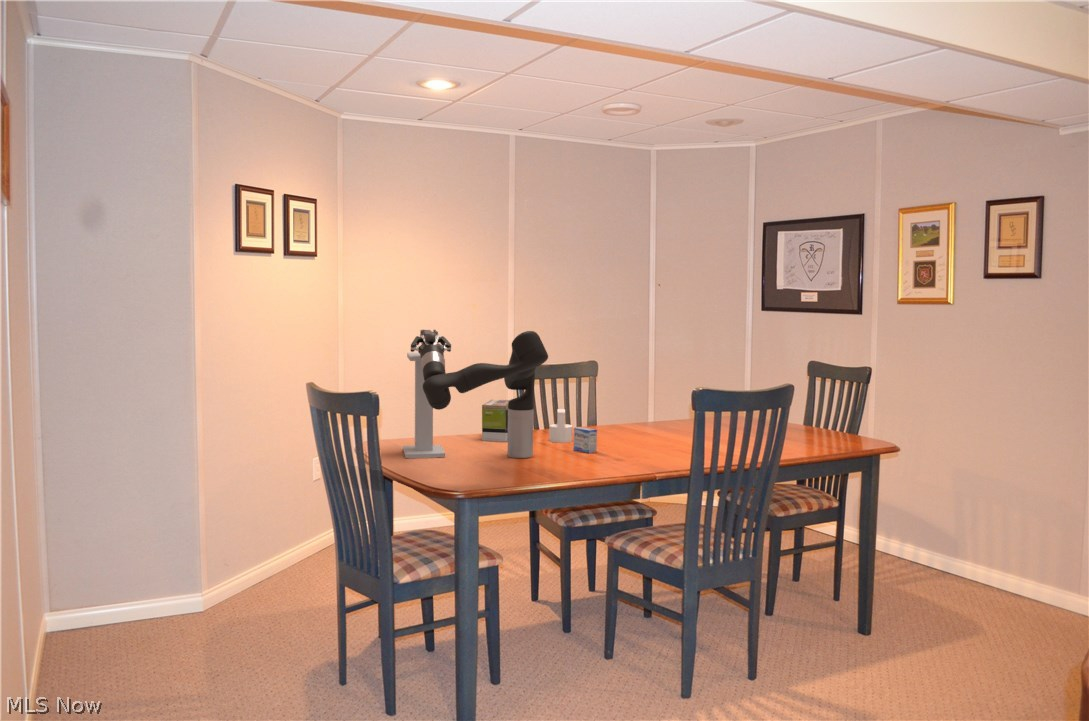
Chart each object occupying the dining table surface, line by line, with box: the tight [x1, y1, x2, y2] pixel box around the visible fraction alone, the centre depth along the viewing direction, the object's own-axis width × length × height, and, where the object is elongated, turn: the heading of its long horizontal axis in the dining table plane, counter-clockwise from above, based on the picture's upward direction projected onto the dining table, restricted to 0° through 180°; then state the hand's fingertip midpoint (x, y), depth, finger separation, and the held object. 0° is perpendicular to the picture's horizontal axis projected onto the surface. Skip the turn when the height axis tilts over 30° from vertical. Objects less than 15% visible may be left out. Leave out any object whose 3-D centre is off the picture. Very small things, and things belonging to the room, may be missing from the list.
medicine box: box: [573, 426, 598, 454], centre depth 324 cm, size 8×4×9 cm, turn 47°
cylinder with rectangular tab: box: [548, 408, 573, 444], centre depth 344 cm, size 9×9×12 cm
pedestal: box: [402, 352, 446, 459], centre depth 313 cm, size 16×14×36 cm
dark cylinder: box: [419, 329, 436, 342], centre depth 296 cm, size 27×3×2 cm, turn 13°
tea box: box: [481, 399, 511, 443], centre depth 347 cm, size 15×10×15 cm, turn 168°
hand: (428, 332), depth 291 cm, fingers closed on dark cylinder, 3 cm apart
